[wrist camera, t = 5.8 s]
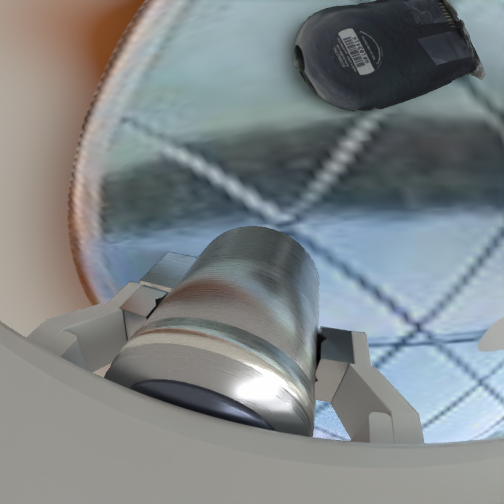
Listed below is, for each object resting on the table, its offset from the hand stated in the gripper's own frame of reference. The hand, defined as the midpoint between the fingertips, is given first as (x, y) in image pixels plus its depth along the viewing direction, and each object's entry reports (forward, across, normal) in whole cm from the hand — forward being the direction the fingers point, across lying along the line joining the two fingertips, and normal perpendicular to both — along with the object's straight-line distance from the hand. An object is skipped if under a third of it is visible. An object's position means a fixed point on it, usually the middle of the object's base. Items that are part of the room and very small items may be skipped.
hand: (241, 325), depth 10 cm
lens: (+3, 0, 0) cm, 3 cm away
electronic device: (+18, -6, -14) cm, 24 cm away
